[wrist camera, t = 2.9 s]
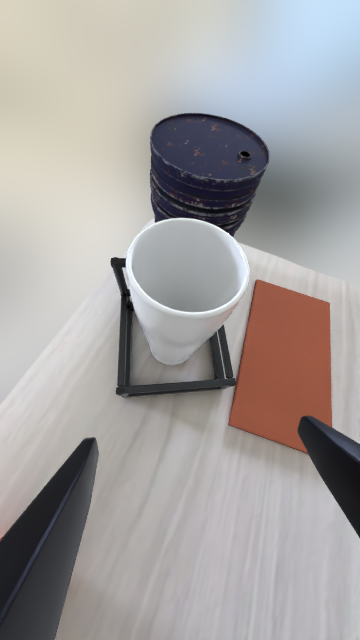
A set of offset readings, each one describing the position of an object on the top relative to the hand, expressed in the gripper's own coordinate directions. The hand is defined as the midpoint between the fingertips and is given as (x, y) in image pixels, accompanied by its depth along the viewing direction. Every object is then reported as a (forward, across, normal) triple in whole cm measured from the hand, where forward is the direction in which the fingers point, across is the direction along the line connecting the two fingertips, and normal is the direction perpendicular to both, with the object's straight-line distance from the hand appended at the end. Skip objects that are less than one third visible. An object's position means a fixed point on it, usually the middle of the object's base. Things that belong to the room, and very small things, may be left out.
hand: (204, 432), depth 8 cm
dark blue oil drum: (+24, -3, -5) cm, 24 cm away
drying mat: (+14, -14, +5) cm, 21 cm away
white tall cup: (+15, 0, +4) cm, 16 cm away
